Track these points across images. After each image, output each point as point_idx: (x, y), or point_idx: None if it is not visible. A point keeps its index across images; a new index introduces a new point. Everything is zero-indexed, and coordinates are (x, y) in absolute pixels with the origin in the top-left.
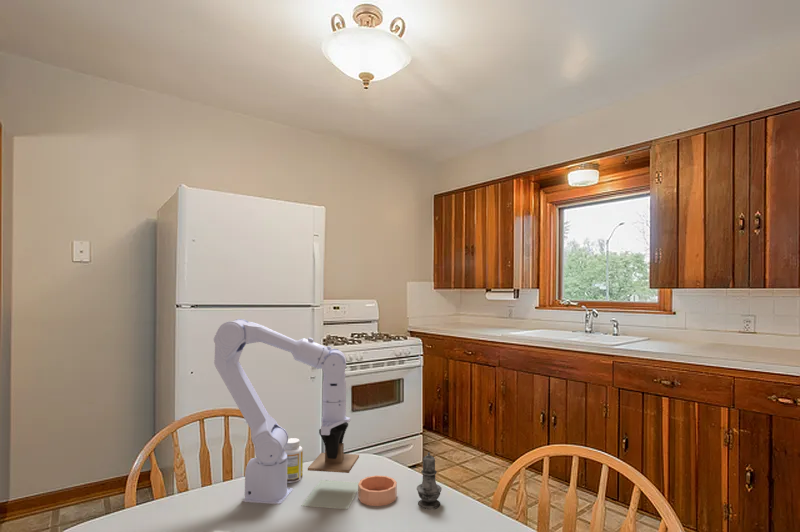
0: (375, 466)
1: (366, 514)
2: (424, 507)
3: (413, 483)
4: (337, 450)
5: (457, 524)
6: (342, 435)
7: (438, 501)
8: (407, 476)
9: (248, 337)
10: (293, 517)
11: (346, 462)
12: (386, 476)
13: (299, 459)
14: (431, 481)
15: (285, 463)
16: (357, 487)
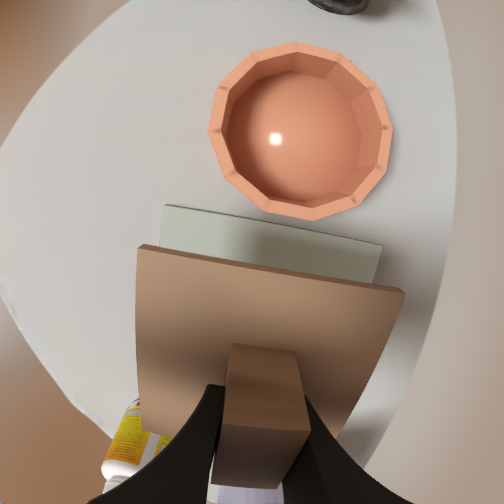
0: (31, 174)
1: (406, 180)
2: (364, 4)
3: (170, 17)
4: (321, 426)
5: None
6: (206, 483)
7: None
8: (110, 45)
9: None
10: (380, 379)
11: (284, 323)
12: (223, 83)
13: (151, 452)
14: None
15: (279, 497)
16: (208, 220)
